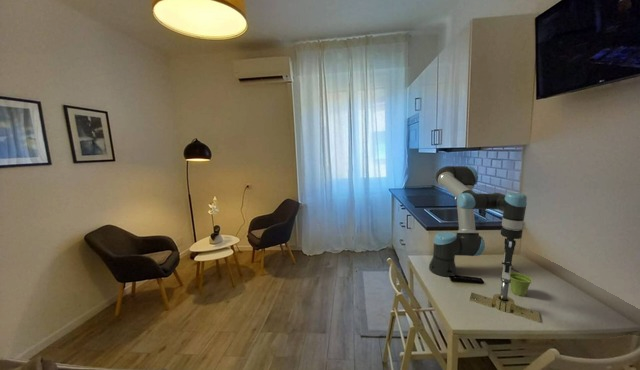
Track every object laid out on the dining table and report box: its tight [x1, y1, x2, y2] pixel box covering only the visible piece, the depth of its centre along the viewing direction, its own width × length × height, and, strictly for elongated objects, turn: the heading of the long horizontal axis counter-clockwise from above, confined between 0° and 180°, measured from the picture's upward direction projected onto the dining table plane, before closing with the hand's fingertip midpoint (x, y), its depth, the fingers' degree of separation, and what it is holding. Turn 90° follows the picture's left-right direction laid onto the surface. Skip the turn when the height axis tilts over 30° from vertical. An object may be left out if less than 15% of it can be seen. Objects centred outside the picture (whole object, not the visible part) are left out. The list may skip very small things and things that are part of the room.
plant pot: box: [509, 272, 533, 297], centre depth 128 cm, size 9×9×9 cm
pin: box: [500, 276, 511, 302], centre depth 116 cm, size 4×4×14 cm
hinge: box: [469, 292, 541, 323], centre depth 117 cm, size 26×8×4 cm, turn 53°
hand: (505, 272), depth 115 cm, fingers open, 13 cm apart
